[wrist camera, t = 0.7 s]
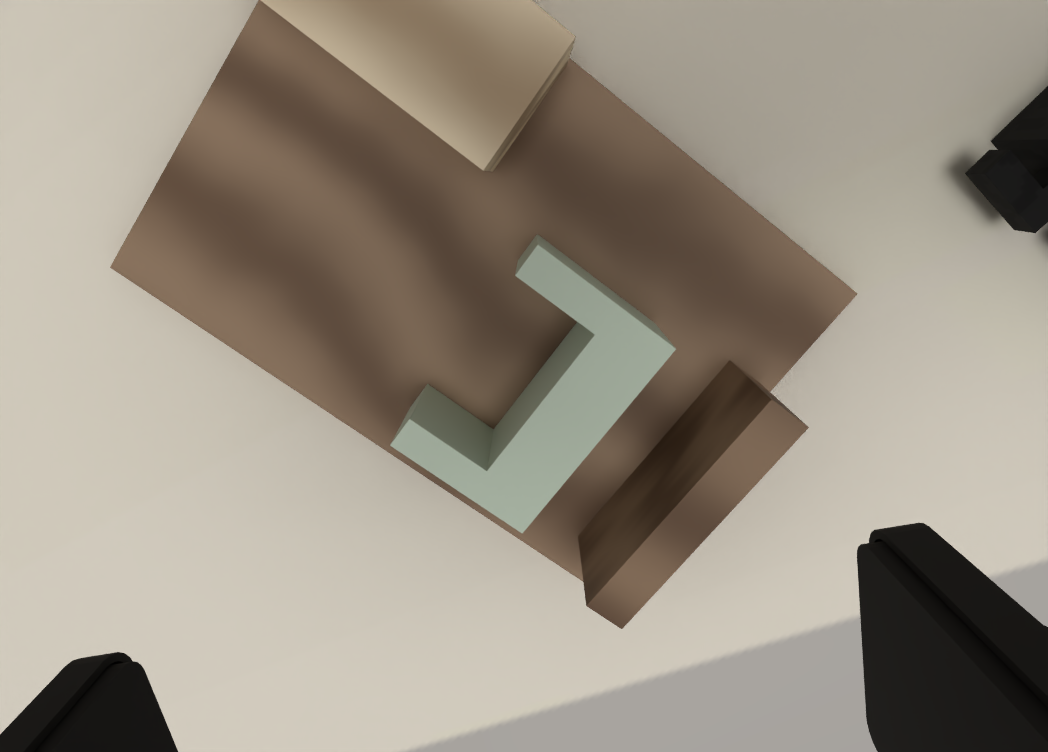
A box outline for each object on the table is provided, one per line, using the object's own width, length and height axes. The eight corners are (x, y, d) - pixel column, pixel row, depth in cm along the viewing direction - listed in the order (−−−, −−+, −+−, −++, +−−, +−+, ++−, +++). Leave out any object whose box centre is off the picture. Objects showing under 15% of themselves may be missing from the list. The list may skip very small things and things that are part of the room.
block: (537, 234, 31) (537, 244, 26) (654, 323, 32) (676, 349, 27) (410, 406, 33) (390, 445, 29) (523, 484, 34) (522, 533, 30)
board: (339, -127, 28) (279, -219, 21) (849, 291, 32) (929, 320, 26) (120, 265, 32) (16, 287, 26) (592, 580, 37) (605, 666, 31)
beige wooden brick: (330, -129, 27) (275, -212, 21) (567, 64, 29) (575, 36, 23) (261, -6, 28) (192, -52, 23) (492, 171, 30) (483, 170, 24)
